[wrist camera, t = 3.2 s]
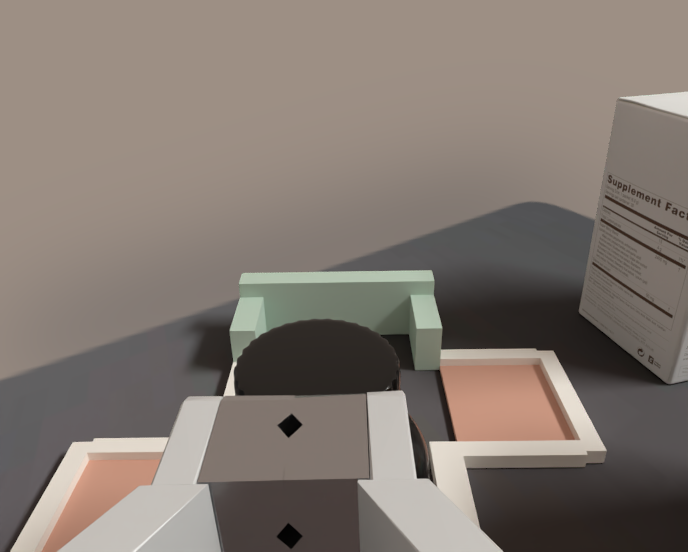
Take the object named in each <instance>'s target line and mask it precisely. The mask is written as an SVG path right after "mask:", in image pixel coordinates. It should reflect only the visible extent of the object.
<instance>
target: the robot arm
mask: <svg viewBox="0 0 688 552" xmlns="http://www.w3.org/2000/svg"><path fill="white" fill-rule="evenodd" d="M57 552H503V551H502V550H501V549H500V548H499V547H498V546H497V545H496V544H495V543H494V542H493V541H492V540H491V539H490V538H489V537H488V536H487V535H486V534H485V533H484V532H483V531H482V530H481V529H480V528H479V527H478V526H477V525H476V524H475V523H474V522H472V521H471V520H470V519H469V518H468V517H467V516H466V515H465V514H464V513H463V512H462V511H461V510H460V509H459V508H458V507H457V506H456V505H455V504H454V503H453V502H452V501H451V500H450V499H449V498H448V497H447V496H446V495H445V494H444V493H443V492H442V491H441V490H440V489H439V488H438V487H437V486H436V485H434V484H433V483H432V482H431V481H430V480H429V479H417V476H416V469H415V462H414V455H413V448H412V440H411V433H410V426H409V419H408V412H407V405H406V397H405V394H404V393H403V391H402V390H401V391H383V392H367V397H366V394H336V395H305V396H295V395H276V396H224V397H222V396H199V397H188V398H187V399H186V400H185V401H184V402H183V403H182V405H181V407H180V410H179V412H178V415H177V418H176V420H175V423H174V426H173V428H172V431H171V433H170V436H169V439H168V441H167V444H166V446H165V449H164V452H163V454H162V457H161V460H160V462H159V465H158V467H157V470H156V473H155V475H154V478H153V480H152V483H151V485H145V486H138V487H137V488H136V489H134V490H133V491H132V492H131V493H129V494H128V495H127V496H126V497H124V498H123V499H122V500H121V501H119V502H118V503H117V504H116V505H114V506H113V507H112V508H111V509H109V510H108V511H107V512H106V513H104V514H103V515H102V516H101V517H99V518H98V519H97V520H96V521H94V522H93V523H92V524H91V525H89V526H88V527H87V528H86V529H84V530H83V531H82V532H81V533H79V534H78V535H77V536H76V537H74V538H73V539H72V540H71V541H69V542H68V543H67V544H66V545H64V546H63V547H62V548H61V549H59V550H58V551H57Z"/></svg>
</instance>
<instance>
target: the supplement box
mask: <svg viewBox="0 0 688 552" xmlns="http://www.w3.org/2000/svg"><path fill="white" fill-rule="evenodd" d="M579 313H580V314H581V315H582V316H583V317H585V318H586V319H587V320H588V321H590V322H591V323H592V324H593V325H595V326H596V327H597V328H598V329H600V330H601V331H602V332H603V333H605V334H606V335H607V336H608V337H609V338H611V339H612V340H613V341H614V342H616V343H617V344H618V345H619V346H621V347H622V348H623V349H624V350H626V351H627V352H628V353H629V354H631V355H632V356H633V357H634V358H636V359H637V360H638V361H639V362H641V363H642V364H643V365H644V366H646V367H647V368H648V369H649V370H651V371H652V372H653V373H654V374H656V375H657V376H658V377H659V378H661V379H662V380H663V381H664V382H665V383H667V384H674V383H678V382H683V381H687V380H688V92H679V93H668V94H656V95H644V96H633V97H619V98H618V99H617V104H616V109H615V115H614V120H613V126H612V131H611V137H610V142H609V148H608V153H607V159H606V165H605V170H604V175H603V181H602V187H601V192H600V197H599V203H598V208H597V214H596V219H595V225H594V230H593V236H592V241H591V247H590V252H589V258H588V264H587V269H586V274H585V280H584V285H583V291H582V296H581V302H580V307H579Z"/></svg>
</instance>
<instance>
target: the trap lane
mask: <svg viewBox="0 0 688 552" xmlns="http://www.w3.org/2000/svg"><path fill="white" fill-rule="evenodd" d="M239 291H240V300H239V303H238V306H237V309H236V312H235V315H234V318H233V322H232V325H231V328H230V331H229V332H230V339H231V347H232V355H233V365H232V368H231V372H230V375H229V379H228V382H227V386H226V389H225V393H224V396H235V389H234V368H235V366H236V365H237V358H238V357H239V356H241V355H242V351H243V349H244V348H246V347H247V346H249V344H250V342H251V341H252V340H254V339H256V338H258V337H259V336H260V335H261V334H262V333H265V332H268V331H269V330H271V329H272V328H275V327H280V326H282V325H284V324H286V323H294V322H296V321H299V320H310V319H333V320H344V321H346V322H352V323H357V324H358V325H360V326H364V327H368V328H369V329H370V330H371V331H374V332H377V333H379V334H380V335H389V334H409V338H410V344H411V350H412V356H413V362H414V368H415V370H440V374H441V378H442V383H443V387H444V391H445V396H446V400H447V405H448V409H449V414H450V418H451V422H452V427H453V431H454V436H455V440H456V441H454V442H429V458H430V464H431V470H432V476H433V482H434V485H436V486H437V487H438V488H439V489H440V490H441V491H442V492H443V493H444V494H445V495H446V496H447V497H448V498H449V499H450V500H451V501H452V502H453V503H454V504H455V505H456V506H457V507H458V508H459V509H460V510H461V511H462V512H463V513H464V514H465V515H466V516H467V517H468V518H469V519H470V520H471V521H472V522H474V523H475V524H476V525H477V526H478V527H479V528H480V526H479V522H478V517H477V513H476V509H475V504H474V500H473V496H472V492H471V487H470V483H469V479H468V475H467V470H466V468H538V467H585V465H586V463H604V460H605V456H606V451H607V450H606V449H605V447H604V445H603V443H602V441H601V439H600V437H599V435H598V434H597V432H596V430H595V428H594V426H593V424H592V422H591V420H590V419H589V417H588V415H587V413H586V411H585V409H584V407H583V405H582V404H581V402H580V400H579V398H578V396H577V394H576V392H575V390H574V388H573V387H572V385H571V383H570V381H569V379H568V377H567V375H566V373H565V372H564V370H563V368H562V366H561V364H560V362H559V360H558V358H557V357H556V355H555V353H554V351H537V350H536V348H531V349H453V350H441V342H442V325H441V321H440V317H439V313H438V309H437V306H436V302H435V298H434V277H433V274H432V270H423V271H354V272H289V273H288V272H287V273H242V276H241V279H240V282H239ZM224 396H223V397H224ZM168 439H169V438H94V440H93V442H73V443H72V445H71V446H70V448H69V450H68V452H67V453H66V455H65V457H64V459H63V460H62V462H61V464H60V466H59V467H58V469H57V471H56V473H55V474H54V476H53V478H52V480H51V481H50V483H49V485H48V487H47V488H46V490H45V492H44V494H43V495H42V497H41V499H40V500H39V502H38V504H37V506H36V507H35V509H34V511H33V513H32V514H31V516H30V518H29V520H28V521H27V523H26V525H25V527H24V528H23V530H22V532H21V534H20V535H19V537H18V539H17V541H16V542H15V544H14V546H13V548H12V549H11V551H10V552H57V551H58V550H59V549H61V548H62V547H63V546H64V545H66V544H67V543H68V542H69V541H71V540H72V539H73V538H74V537H76V536H77V535H78V534H79V533H81V532H82V531H83V530H84V529H86V528H87V527H88V526H89V525H91V524H92V523H93V522H94V521H96V520H97V519H98V518H99V517H101V516H102V515H103V514H104V513H106V512H107V511H108V510H109V509H111V508H112V507H113V506H114V505H116V504H117V503H118V502H119V501H121V500H122V499H123V498H124V497H126V496H127V495H128V494H129V493H131V492H132V491H133V490H134V489H136V488H137V487H138V486H145V485H151V483H152V480H153V478H154V475H155V473H156V470H157V467H158V465H159V462H160V460H161V457H162V454H163V452H164V449H165V446H166V444H167V441H168Z"/></svg>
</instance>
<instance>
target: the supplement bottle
mask: <svg viewBox="0 0 688 552" xmlns="http://www.w3.org/2000/svg"><path fill="white" fill-rule="evenodd" d="M399 367H400V363H399V358H398V356H397V355H396V354H395V349H394V348H393V347H392V346H391V345H389V342H388V340H387V339H385V338H383V337H381V336H380V334H379V333H377V332H374V331H371V330H370V329H369V328H368V327H364V326H360V325H358V324H357V323H352V322H346V321H344V320H333V319H310V320H299V321H296V322H294V323H286V324H284V325H282V326H280V327H275V328H272V329H271V330H269V331H268V332H265V333H262V334H261V335H260V336H259V337H258V338H256V339H254V340H252V341H251V342H250V344H249V346H247V347H246V348H244V349H243V351H242V355H241V356H239V357H238V358H237V365H236V366H235V368H234V389H235V396H276V395H295V396H305V395H336V394H366V397H367V392H383V391H401V389H400V368H399ZM408 419H409V426H410V433H411V440H412V448H413V455H414V462H415V469H416V476H417V479H429V455H428V450H427V446H426V443H425V440H424V437H423V435H422V433H421V431H420V429H419V428H418V426H417V424H416V423H415V421H414V420H413V418H412V417H411V416H410V415H409V414H408Z"/></svg>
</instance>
